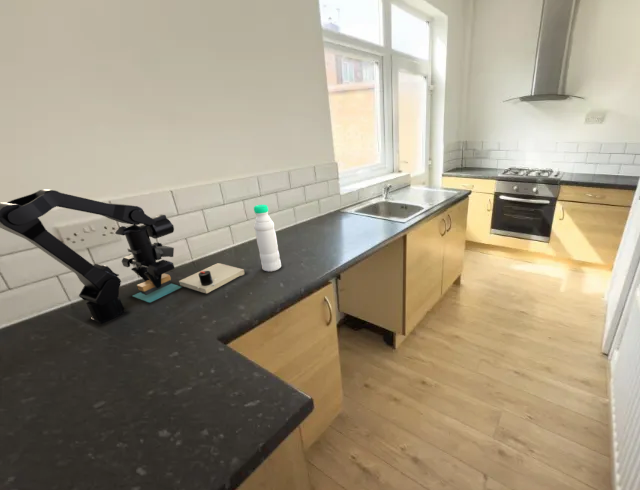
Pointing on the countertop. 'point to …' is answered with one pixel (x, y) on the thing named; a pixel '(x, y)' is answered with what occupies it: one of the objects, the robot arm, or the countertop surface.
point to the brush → (149, 287)
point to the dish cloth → (157, 293)
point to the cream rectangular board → (213, 277)
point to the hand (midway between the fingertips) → (155, 286)
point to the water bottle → (266, 239)
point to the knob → (205, 278)
